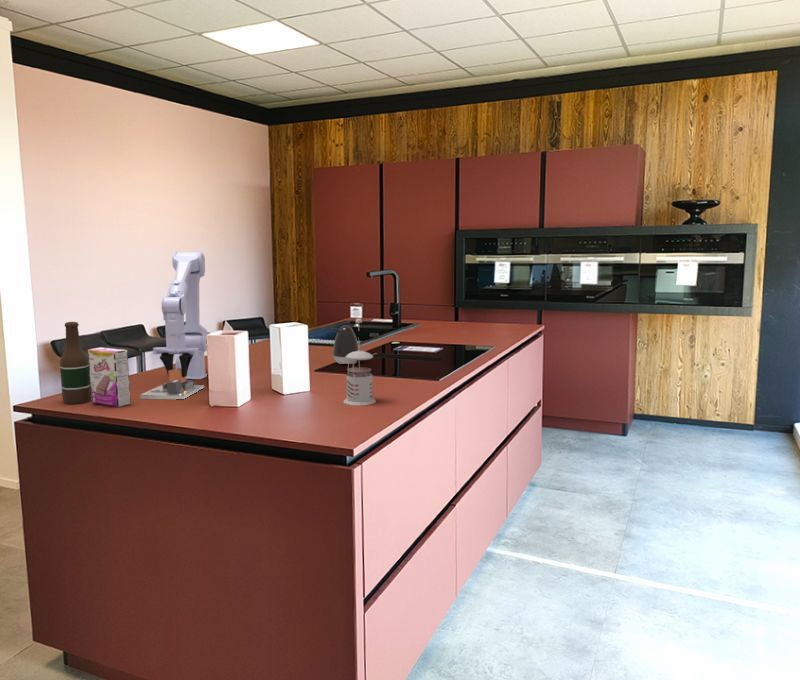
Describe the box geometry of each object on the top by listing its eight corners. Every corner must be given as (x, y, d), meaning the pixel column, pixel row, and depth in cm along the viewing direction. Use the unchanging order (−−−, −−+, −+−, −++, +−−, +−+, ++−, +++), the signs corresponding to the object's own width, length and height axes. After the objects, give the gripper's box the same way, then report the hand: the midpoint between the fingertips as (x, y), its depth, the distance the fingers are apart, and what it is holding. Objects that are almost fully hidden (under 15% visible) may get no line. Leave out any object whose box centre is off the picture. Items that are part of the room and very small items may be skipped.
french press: (351, 406, 189) (349, 321, 185) (336, 398, 199) (334, 317, 195) (381, 403, 193) (381, 319, 190) (365, 395, 203) (364, 315, 200)
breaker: (167, 392, 201) (166, 381, 201) (172, 390, 205) (171, 379, 204) (176, 392, 201) (175, 382, 200) (181, 390, 204) (180, 379, 204)
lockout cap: (169, 383, 207) (168, 369, 207) (174, 380, 211) (174, 367, 211) (181, 383, 207) (180, 369, 206) (186, 380, 211) (185, 367, 210)
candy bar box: (90, 404, 193) (86, 349, 190) (104, 400, 197) (100, 346, 195) (118, 408, 188) (114, 351, 186) (131, 404, 193) (128, 349, 190)
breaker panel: (140, 398, 199) (139, 389, 199) (163, 387, 214) (162, 379, 214) (183, 399, 198) (183, 391, 197) (204, 388, 213) (203, 380, 212)
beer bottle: (97, 399, 198) (91, 321, 195) (77, 405, 191) (71, 324, 188) (77, 397, 201) (71, 320, 197) (56, 403, 194) (50, 323, 190)
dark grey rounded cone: (332, 361, 261) (331, 324, 259) (358, 361, 262) (358, 323, 260) (332, 366, 251) (332, 327, 249) (359, 365, 252) (359, 326, 250)
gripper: (147, 335, 204) (149, 378, 206) (191, 336, 202) (193, 379, 204) (158, 332, 211) (160, 374, 213) (201, 333, 209) (203, 375, 211)
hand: (177, 376), depth 209 cm, fingers closed on lockout cap, 4 cm apart
